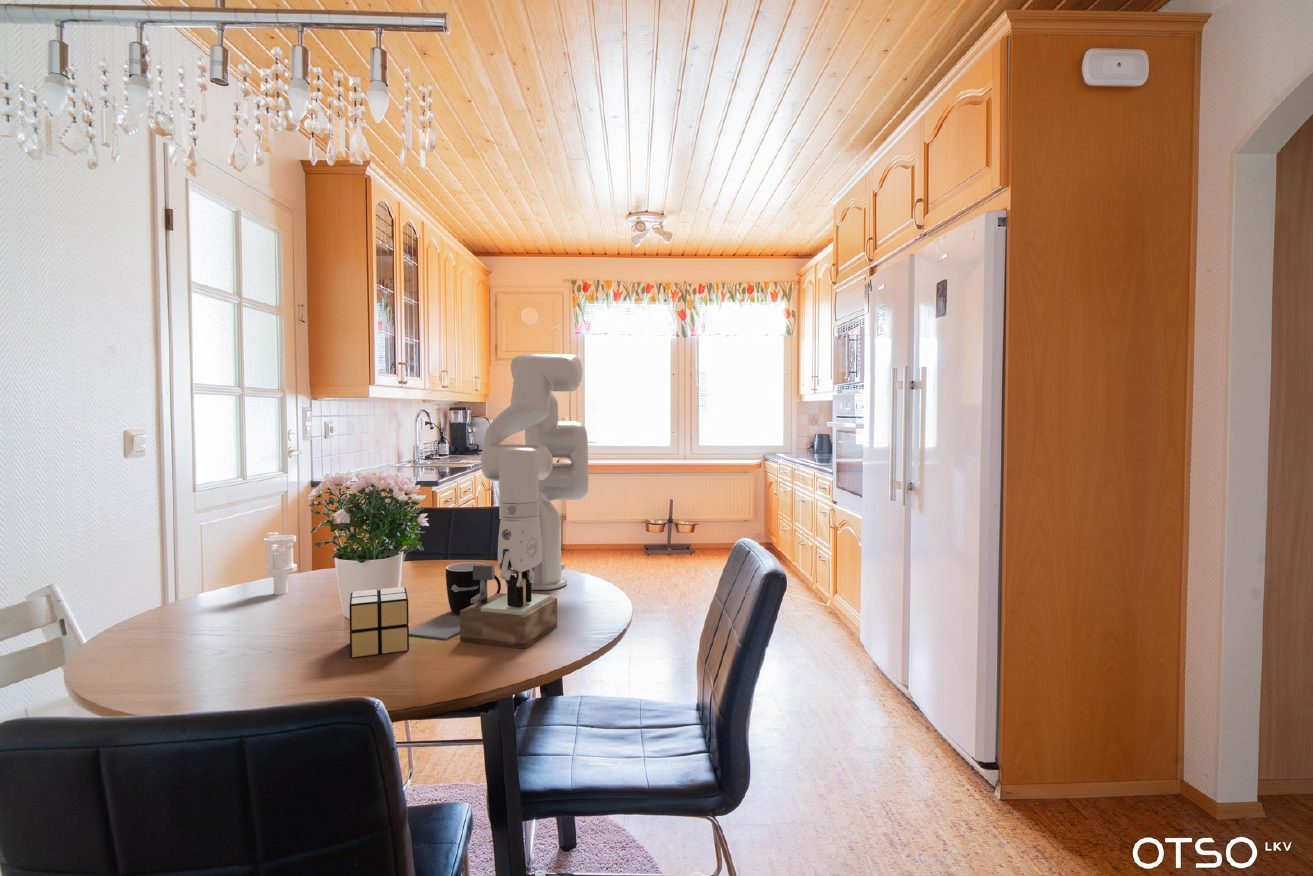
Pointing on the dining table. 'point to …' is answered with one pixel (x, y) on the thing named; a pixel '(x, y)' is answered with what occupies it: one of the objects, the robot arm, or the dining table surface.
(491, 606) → the cover
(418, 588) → the dining table surface
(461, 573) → the mug
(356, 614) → the puzzle cube
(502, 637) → the case
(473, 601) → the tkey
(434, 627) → the mat
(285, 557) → the white cylindrical part
